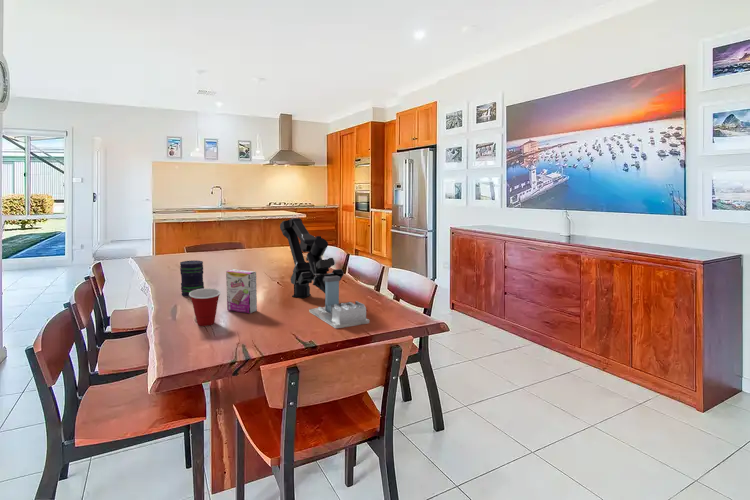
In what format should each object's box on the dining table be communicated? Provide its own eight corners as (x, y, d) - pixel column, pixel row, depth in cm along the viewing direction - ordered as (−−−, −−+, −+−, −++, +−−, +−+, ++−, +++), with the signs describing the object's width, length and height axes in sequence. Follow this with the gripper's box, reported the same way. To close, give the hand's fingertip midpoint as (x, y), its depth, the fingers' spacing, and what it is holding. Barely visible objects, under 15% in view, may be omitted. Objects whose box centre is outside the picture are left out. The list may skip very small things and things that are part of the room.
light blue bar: (324, 310, 174) (324, 276, 172) (336, 308, 177) (336, 275, 175) (332, 314, 168) (332, 280, 166) (345, 312, 171) (345, 278, 169)
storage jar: (208, 293, 203) (207, 261, 201) (190, 297, 195) (188, 264, 193) (195, 290, 208) (194, 259, 206) (176, 294, 200) (175, 262, 198)
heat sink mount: (309, 312, 176) (309, 294, 175) (340, 307, 183) (340, 290, 182) (335, 328, 156) (335, 308, 155) (369, 323, 163) (369, 303, 162)
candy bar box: (226, 311, 175) (225, 271, 173) (234, 307, 180) (233, 268, 178) (250, 314, 172) (249, 273, 169) (257, 310, 176) (256, 271, 174)
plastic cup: (191, 330, 152) (190, 296, 150) (188, 321, 161) (187, 289, 159) (224, 326, 157) (223, 293, 155) (219, 318, 166) (218, 287, 164)
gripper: (300, 252, 174) (311, 285, 166) (342, 250, 184) (354, 280, 176) (293, 269, 182) (303, 300, 174) (333, 265, 192) (345, 295, 184)
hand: (327, 293), depth 177 cm, fingers closed
